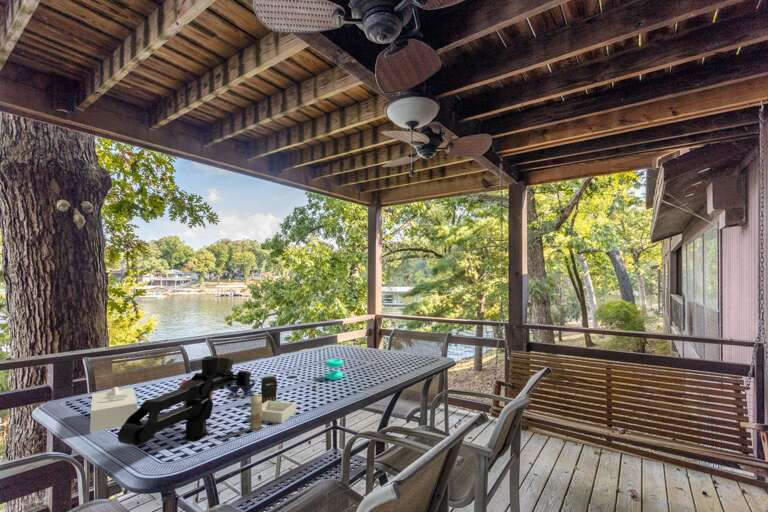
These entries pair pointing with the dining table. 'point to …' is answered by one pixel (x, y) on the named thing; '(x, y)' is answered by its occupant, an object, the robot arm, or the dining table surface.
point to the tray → (277, 411)
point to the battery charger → (268, 388)
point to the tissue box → (112, 408)
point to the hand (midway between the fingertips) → (241, 373)
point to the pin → (256, 412)
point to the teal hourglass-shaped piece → (334, 374)
